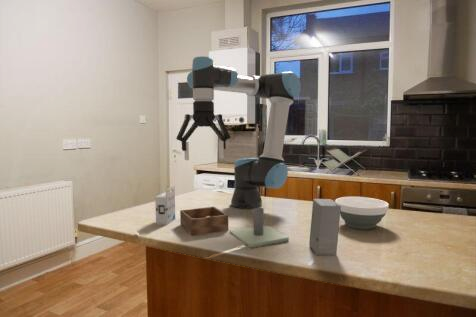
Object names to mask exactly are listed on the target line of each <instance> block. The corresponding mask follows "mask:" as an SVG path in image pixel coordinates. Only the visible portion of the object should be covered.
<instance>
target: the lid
mask: <svg viewBox="0 0 476 317" xmlns="http://www.w3.org/2000/svg"><path fill="white" fill-rule="evenodd" d="M264 212H265V210H264V207H257V208H253V226H252V227H246V228H241V229H233V230H230V231H229V233H230V234H231V235H232V236H234V237H235V238H237V239H238V240H240V241H241V242H243V243H244V244H245V245H247V246H248V247H254V246H260V245H265V244H271V243H276V242H282V241H287V240H288V241H289V240H290V239H289V236H286V235H285V234H283V233H281V232H279V231H277V230H275V229H274V228H272V227H271V226H268V225H264ZM245 245H244V246H245ZM248 247H247V248H248Z"/></svg>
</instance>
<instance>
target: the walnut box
mask: <svg viewBox="0 0 476 317" xmlns="http://www.w3.org/2000/svg"><path fill="white" fill-rule="evenodd" d="M179 212H180V214H179V216H180V218H179V219H180V226H181V227H182V228H183V229H184V230H185V231H186V232H187V233H188V234H189V235H190V236H191V237H192V236H199V235H207V234H213V233H219V232H226V231H227V232H228V231H229V214H227V213H225V212H224V211H222V210H220V209H219V208H217V207H216V206H207V207H198V208H191V209H181V210H180V211H179ZM207 216H210V217H207ZM193 218H195V219H193Z"/></svg>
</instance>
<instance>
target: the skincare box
mask: <svg viewBox="0 0 476 317" xmlns="http://www.w3.org/2000/svg"><path fill="white" fill-rule="evenodd" d="M311 207H312V210H311V220H310V221H311V222H310V231H309V232H310V233H309V242H308V245H309V247H311V249H312V250H313V252H314V253H315V254H316V255H317V256H325V255H326V256H327V255H328V256H334V255H337V254H338V253H337V250H338V239H339V230H340V219H341V215H340V211H341V206H340V205H338V204H337V202H335V200H333V199H331V198H330V199H329V198H327V199H326V198H313V199H312V206H311Z"/></svg>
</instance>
